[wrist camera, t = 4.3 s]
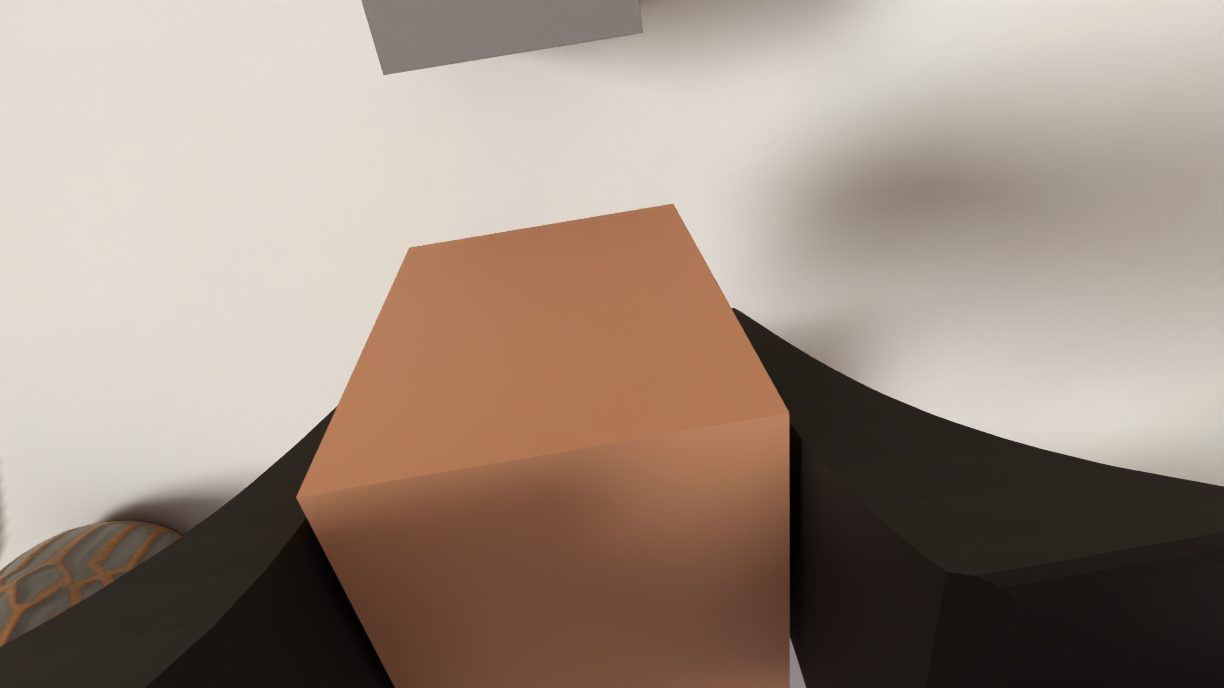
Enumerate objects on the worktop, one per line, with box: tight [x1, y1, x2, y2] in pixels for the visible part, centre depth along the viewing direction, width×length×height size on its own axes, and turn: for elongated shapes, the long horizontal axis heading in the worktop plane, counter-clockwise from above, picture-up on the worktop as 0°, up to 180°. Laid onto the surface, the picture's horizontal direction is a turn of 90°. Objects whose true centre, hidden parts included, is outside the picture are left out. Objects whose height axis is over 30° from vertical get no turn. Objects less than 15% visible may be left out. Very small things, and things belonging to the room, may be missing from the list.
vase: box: [0, 521, 183, 647], centre depth 20 cm, size 7×7×9 cm
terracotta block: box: [296, 204, 790, 688], centre depth 10 cm, size 4×4×6 cm
